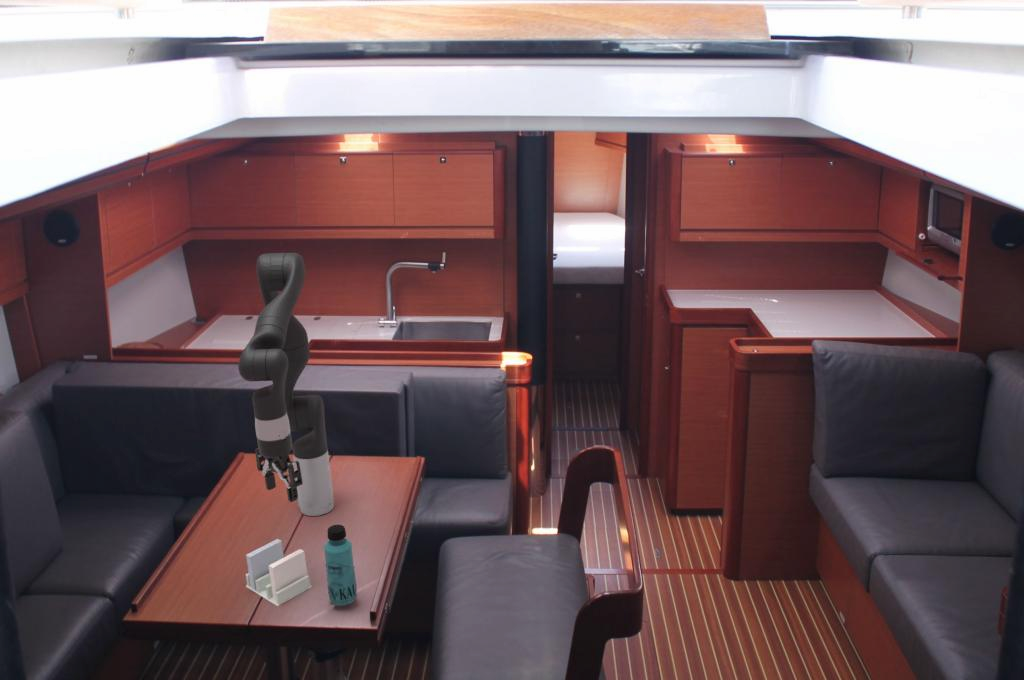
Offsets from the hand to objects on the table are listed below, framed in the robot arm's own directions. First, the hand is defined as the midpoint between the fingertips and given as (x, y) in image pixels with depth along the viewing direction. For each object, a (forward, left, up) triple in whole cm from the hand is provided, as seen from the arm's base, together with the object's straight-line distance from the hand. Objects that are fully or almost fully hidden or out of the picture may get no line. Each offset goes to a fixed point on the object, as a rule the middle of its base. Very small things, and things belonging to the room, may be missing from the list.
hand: (282, 494), depth 225 cm
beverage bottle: (+16, +2, -24) cm, 29 cm away
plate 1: (-5, -4, -23) cm, 24 cm away
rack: (-1, -4, -24) cm, 24 cm away
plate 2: (+3, -3, -23) cm, 24 cm away
